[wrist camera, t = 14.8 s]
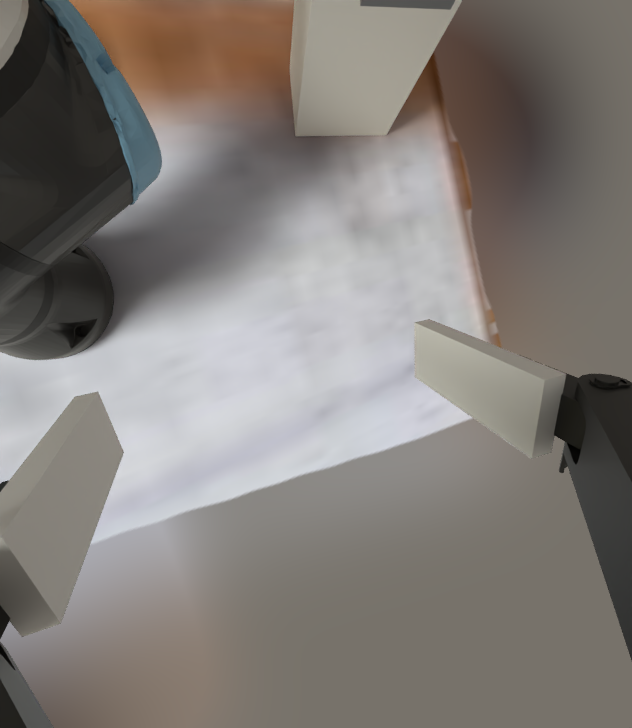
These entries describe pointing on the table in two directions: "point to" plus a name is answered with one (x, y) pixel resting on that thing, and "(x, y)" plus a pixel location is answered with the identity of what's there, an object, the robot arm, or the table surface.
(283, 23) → the table surface
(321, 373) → the table surface
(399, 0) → the bar
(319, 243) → the table surface
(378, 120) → the stand
